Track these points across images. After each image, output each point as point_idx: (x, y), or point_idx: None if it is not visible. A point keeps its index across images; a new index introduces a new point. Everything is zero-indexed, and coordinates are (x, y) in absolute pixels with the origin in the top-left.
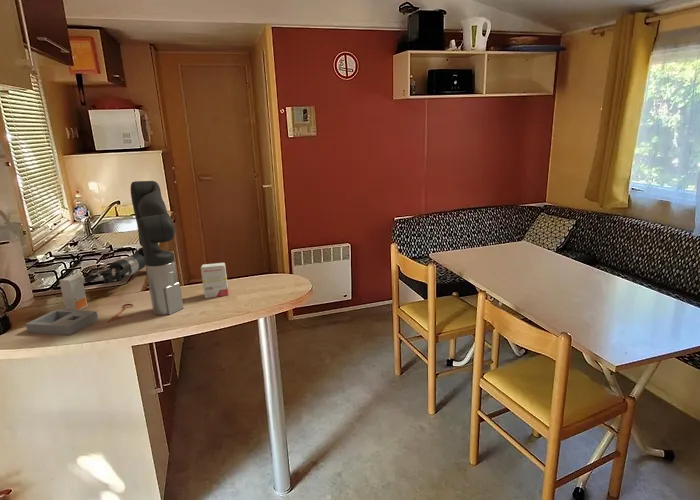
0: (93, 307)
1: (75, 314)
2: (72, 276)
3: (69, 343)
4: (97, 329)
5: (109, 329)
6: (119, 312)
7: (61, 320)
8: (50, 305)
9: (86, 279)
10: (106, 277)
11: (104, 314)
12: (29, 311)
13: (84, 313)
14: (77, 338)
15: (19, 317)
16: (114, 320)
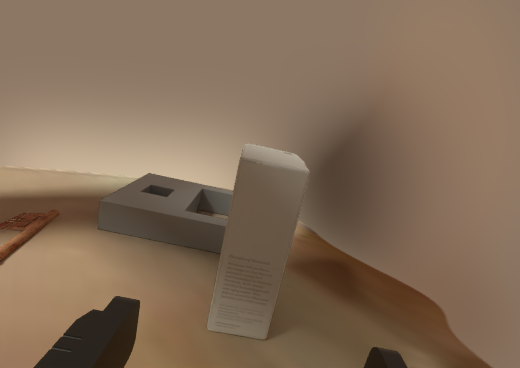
0: (166, 316)
1: (166, 200)
2: (279, 158)
3: (132, 179)
4: (84, 196)
5: (47, 190)
6: (7, 242)
7: (185, 190)
8: (424, 365)
9: (369, 362)
10: (113, 316)
11: (81, 252)
12: (421, 314)
13: (138, 199)
14: (123, 184)
15: (385, 279)
16: (33, 214)
